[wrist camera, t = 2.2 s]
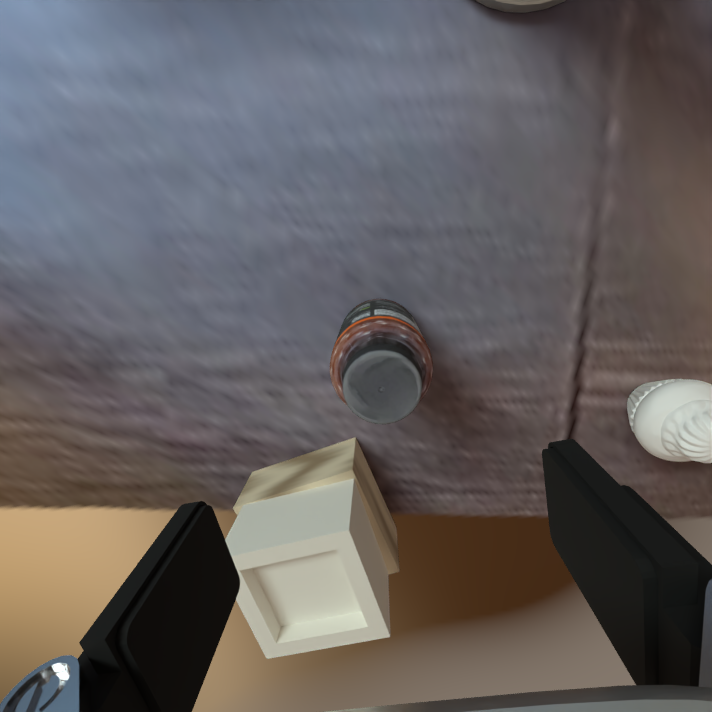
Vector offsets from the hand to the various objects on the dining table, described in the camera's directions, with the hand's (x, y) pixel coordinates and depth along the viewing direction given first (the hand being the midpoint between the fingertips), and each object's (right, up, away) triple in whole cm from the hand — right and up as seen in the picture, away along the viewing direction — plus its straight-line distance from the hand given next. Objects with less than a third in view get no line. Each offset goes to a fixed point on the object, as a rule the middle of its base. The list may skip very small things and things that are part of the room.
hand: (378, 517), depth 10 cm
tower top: (-4, -10, +19) cm, 22 cm away
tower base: (-3, -9, +24) cm, 26 cm away
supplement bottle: (+1, +6, +19) cm, 20 cm away
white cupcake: (+23, +1, +20) cm, 30 cm away
